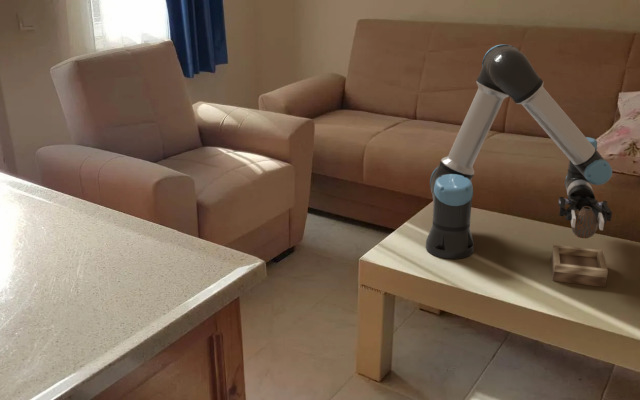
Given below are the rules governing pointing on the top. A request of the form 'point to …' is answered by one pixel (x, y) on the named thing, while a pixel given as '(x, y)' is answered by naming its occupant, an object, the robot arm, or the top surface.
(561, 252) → the square wooden tray
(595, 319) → the top surface
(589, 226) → the vase
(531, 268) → the top surface
